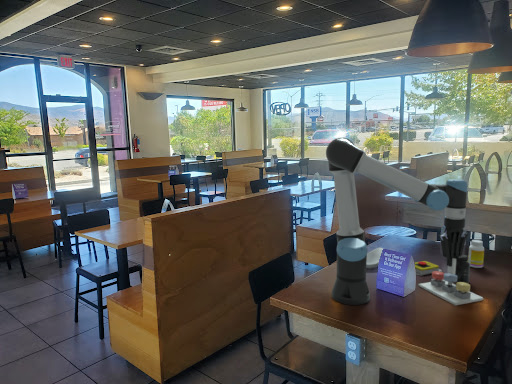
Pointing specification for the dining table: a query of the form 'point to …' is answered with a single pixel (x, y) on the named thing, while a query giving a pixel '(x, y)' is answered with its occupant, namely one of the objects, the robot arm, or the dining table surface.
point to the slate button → (450, 278)
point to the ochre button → (463, 287)
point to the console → (449, 292)
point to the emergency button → (425, 268)
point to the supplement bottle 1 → (462, 269)
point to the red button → (438, 275)
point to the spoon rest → (373, 258)
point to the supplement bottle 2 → (476, 254)
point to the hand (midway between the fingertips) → (451, 273)
